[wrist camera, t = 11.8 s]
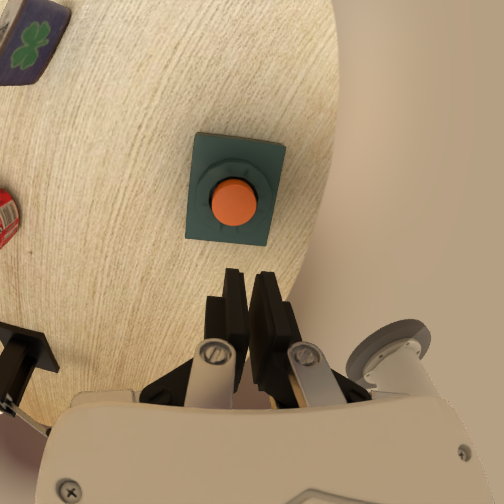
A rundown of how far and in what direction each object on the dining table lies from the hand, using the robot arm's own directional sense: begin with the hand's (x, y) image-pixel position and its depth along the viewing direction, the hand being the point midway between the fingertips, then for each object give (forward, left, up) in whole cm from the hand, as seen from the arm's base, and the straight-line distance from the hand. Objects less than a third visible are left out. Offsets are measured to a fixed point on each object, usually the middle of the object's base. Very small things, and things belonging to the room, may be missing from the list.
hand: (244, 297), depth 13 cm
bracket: (+13, +43, -17) cm, 48 cm away
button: (0, 0, -14) cm, 14 cm away
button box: (0, 0, -17) cm, 17 cm away
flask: (+26, -1, -17) cm, 31 cm away
